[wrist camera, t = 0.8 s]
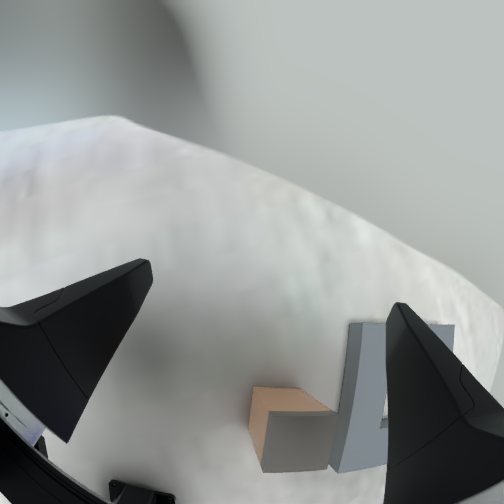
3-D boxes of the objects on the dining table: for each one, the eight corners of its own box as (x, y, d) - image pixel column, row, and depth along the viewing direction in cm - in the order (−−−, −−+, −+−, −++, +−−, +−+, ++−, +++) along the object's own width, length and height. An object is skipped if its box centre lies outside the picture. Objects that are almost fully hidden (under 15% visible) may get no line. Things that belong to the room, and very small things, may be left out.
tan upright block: (293, 429, 20) (326, 469, 12) (247, 428, 20) (262, 472, 12) (300, 388, 21) (338, 414, 13) (253, 386, 21) (272, 415, 13)
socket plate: (420, 443, 20) (433, 449, 18) (327, 462, 19) (337, 473, 17) (439, 326, 24) (454, 324, 22) (349, 323, 23) (363, 322, 20)
